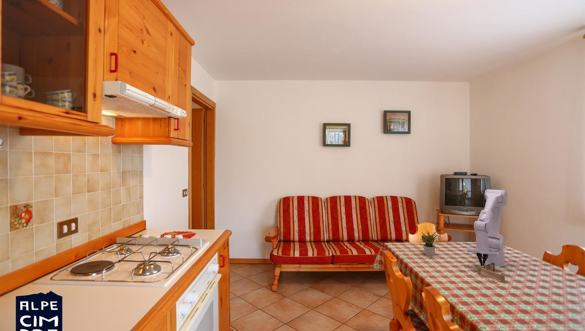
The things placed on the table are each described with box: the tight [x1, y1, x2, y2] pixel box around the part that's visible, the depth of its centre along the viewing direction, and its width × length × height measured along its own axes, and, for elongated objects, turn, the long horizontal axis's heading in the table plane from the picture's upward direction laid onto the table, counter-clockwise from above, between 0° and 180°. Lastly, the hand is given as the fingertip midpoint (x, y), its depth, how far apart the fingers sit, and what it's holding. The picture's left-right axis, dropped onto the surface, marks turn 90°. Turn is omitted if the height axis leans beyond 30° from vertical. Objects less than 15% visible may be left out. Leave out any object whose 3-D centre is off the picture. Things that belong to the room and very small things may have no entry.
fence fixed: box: [477, 265, 506, 284], centre depth 140 cm, size 2×13×4 cm, turn 23°
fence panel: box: [480, 263, 496, 272], centre depth 148 cm, size 11×2×4 cm, turn 113°
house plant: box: [420, 230, 443, 258], centre depth 177 cm, size 14×14×16 cm
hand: (482, 267), depth 151 cm, fingers closed
